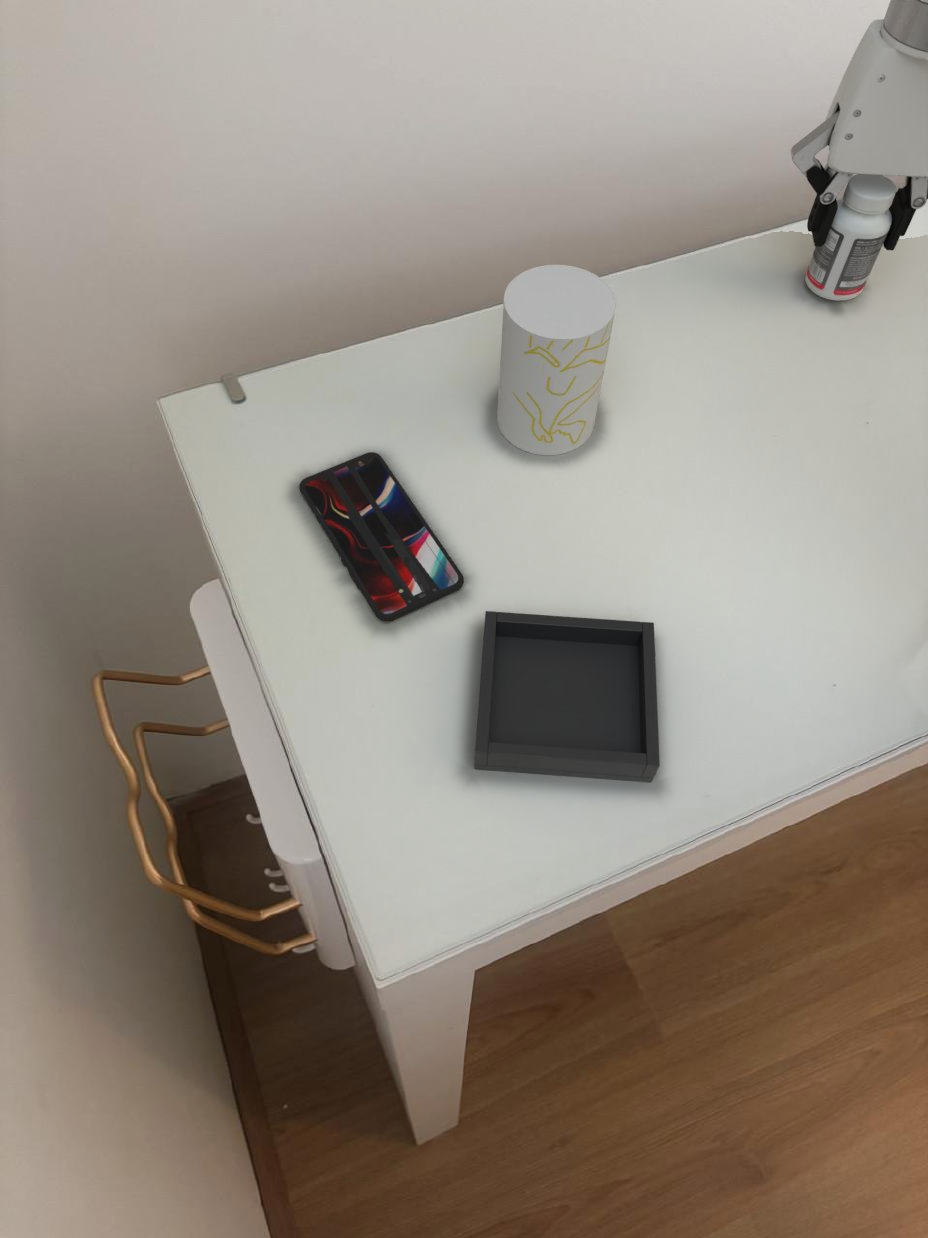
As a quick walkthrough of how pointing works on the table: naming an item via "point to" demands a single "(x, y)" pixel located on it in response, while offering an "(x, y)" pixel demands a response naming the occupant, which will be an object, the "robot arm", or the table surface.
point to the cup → (553, 357)
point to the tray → (568, 697)
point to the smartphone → (380, 536)
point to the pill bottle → (853, 238)
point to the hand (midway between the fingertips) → (851, 237)
